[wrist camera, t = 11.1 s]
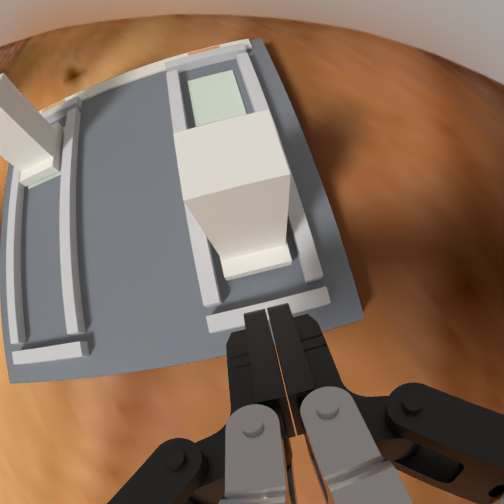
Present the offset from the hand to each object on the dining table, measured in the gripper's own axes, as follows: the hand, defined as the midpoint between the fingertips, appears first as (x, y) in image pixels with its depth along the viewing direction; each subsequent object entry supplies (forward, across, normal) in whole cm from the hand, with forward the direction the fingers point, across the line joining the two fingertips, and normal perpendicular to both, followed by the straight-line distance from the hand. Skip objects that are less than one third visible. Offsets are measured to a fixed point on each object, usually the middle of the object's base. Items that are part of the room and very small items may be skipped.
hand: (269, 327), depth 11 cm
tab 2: (+7, 0, 0) cm, 7 cm away
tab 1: (+13, +13, -7) cm, 20 cm away
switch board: (+11, +6, -2) cm, 13 cm away
